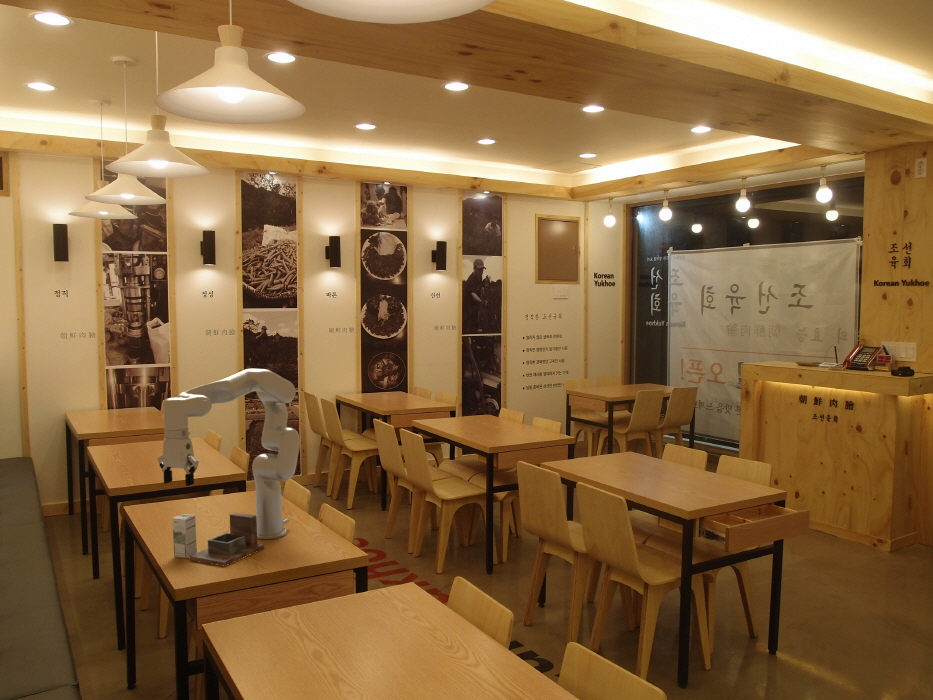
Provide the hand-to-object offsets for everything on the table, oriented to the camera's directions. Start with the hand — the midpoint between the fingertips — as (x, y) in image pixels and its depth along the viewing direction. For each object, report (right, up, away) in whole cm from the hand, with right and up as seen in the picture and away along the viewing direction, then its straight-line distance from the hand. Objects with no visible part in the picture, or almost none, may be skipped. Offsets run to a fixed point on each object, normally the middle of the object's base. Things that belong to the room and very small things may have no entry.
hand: (179, 483), depth 249 cm
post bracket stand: (+12, -28, +13) cm, 33 cm away
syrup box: (-2, -28, +12) cm, 31 cm away
